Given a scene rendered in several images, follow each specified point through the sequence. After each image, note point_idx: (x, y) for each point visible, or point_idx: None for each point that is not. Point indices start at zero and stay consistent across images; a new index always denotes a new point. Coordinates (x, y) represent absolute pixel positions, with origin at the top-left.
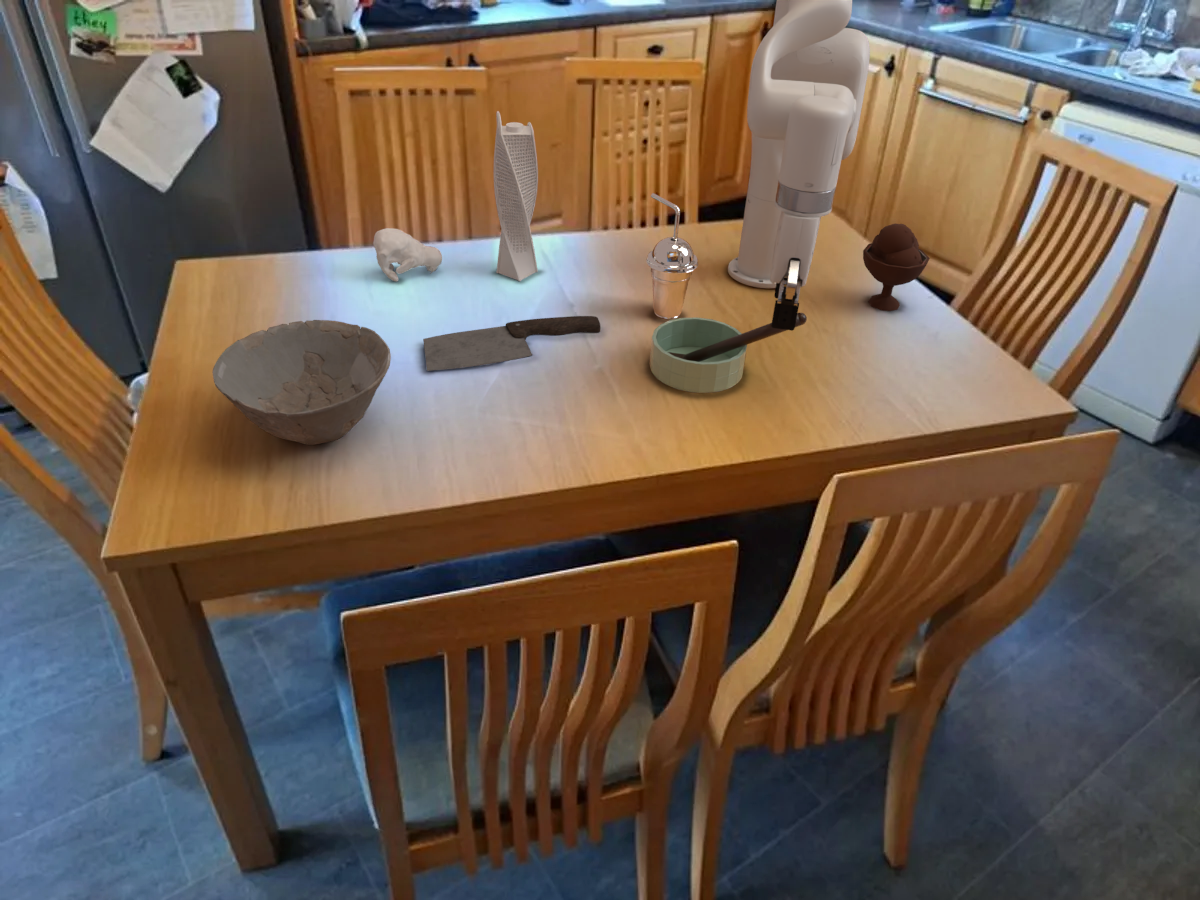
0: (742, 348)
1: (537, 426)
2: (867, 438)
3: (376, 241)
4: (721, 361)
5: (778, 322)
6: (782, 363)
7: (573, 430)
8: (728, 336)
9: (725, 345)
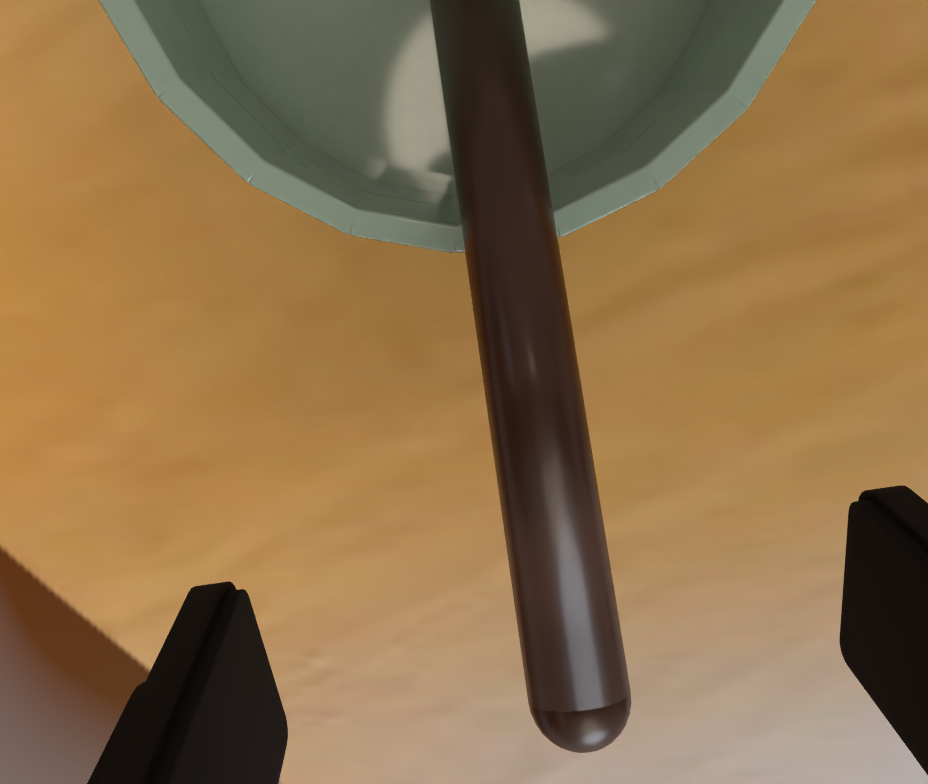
0: None
1: None
2: None
3: None
4: (209, 120)
5: (138, 691)
6: (708, 373)
7: None
8: (718, 60)
9: (449, 92)
